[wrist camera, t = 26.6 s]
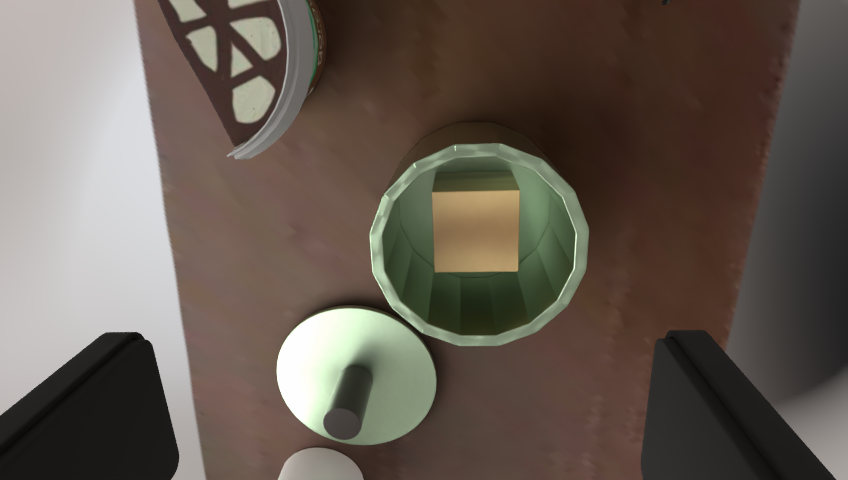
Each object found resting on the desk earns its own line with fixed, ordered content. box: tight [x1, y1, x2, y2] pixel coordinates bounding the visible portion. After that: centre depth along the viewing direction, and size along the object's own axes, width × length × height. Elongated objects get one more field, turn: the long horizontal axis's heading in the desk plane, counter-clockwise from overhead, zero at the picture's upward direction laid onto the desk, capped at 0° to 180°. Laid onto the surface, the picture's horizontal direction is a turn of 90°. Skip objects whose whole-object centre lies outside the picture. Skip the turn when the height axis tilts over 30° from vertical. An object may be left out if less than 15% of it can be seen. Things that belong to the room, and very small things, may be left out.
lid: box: [277, 305, 437, 445], centre depth 38 cm, size 12×12×6 cm
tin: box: [369, 121, 589, 346], centre depth 32 cm, size 11×11×8 cm
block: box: [432, 171, 520, 272], centre depth 33 cm, size 5×5×5 cm
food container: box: [158, 0, 328, 159], centre depth 28 cm, size 12×6×10 cm, turn 22°
